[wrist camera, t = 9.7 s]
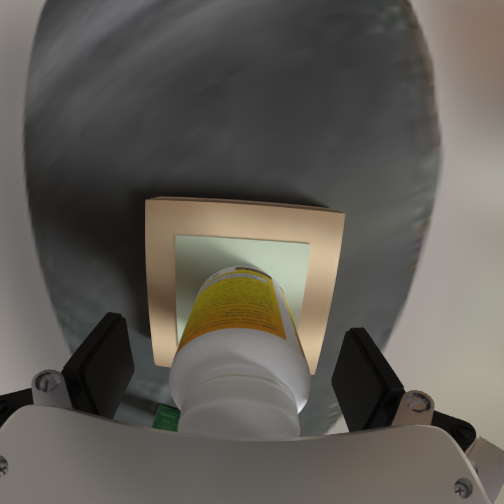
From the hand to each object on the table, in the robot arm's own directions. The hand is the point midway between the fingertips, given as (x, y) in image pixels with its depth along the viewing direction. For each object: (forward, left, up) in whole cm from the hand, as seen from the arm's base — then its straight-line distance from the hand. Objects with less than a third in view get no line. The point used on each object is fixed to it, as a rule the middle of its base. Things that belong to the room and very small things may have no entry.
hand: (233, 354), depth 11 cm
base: (+1, 0, -10) cm, 10 cm away
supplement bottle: (+1, 0, -7) cm, 7 cm away
